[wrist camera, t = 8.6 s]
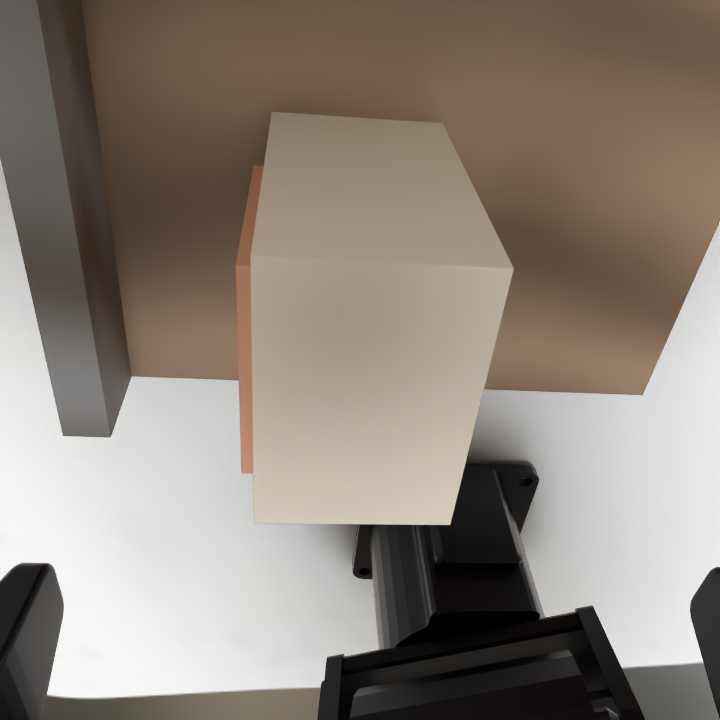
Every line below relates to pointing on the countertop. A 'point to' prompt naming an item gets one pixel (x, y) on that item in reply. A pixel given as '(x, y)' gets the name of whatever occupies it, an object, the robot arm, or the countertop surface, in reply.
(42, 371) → the countertop surface
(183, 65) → the brown tray
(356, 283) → the askew carton
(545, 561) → the countertop surface
